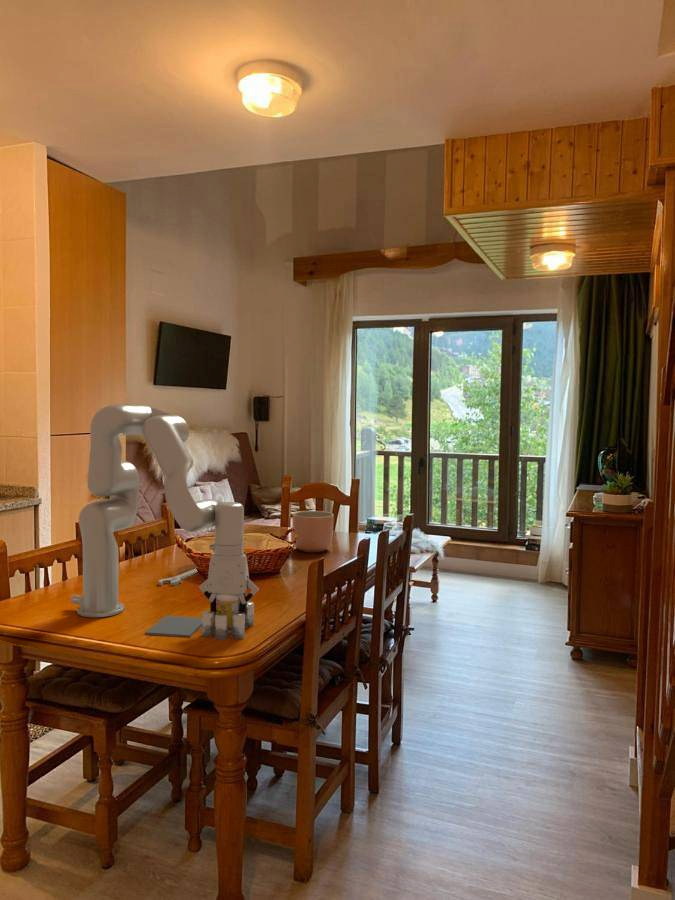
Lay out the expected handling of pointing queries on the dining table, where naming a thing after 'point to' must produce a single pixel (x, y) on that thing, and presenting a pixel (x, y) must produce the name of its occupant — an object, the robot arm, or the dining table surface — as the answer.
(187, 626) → the rubber mat
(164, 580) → the adjustable wrench
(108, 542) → the robot arm
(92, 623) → the dining table surface
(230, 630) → the supplement bottle
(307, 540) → the planter
